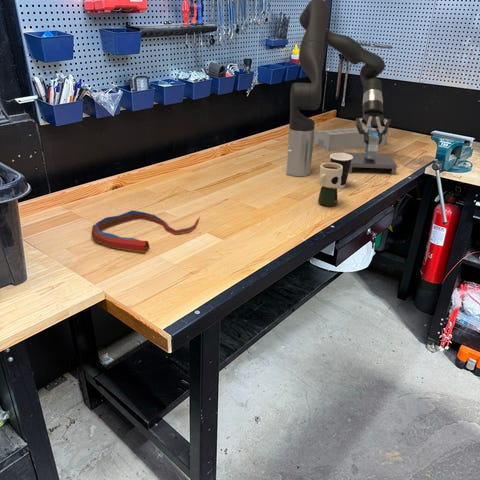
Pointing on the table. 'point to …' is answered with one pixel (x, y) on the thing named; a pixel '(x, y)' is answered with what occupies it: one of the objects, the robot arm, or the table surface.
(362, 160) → the brushed metal plate
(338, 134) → the warehouse
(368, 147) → the label tape box
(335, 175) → the character mug
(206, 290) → the table surface
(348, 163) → the dixie cup
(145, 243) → the red curved tail
